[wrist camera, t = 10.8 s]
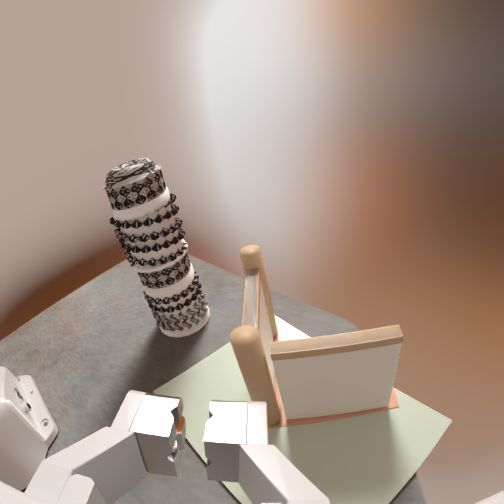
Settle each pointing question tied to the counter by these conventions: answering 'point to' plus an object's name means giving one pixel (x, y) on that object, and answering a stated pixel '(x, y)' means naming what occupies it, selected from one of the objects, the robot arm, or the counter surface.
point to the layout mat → (320, 432)
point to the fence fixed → (257, 334)
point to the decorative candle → (156, 246)
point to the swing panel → (337, 371)
